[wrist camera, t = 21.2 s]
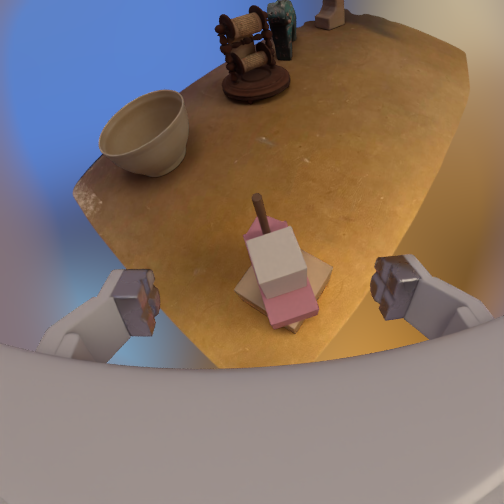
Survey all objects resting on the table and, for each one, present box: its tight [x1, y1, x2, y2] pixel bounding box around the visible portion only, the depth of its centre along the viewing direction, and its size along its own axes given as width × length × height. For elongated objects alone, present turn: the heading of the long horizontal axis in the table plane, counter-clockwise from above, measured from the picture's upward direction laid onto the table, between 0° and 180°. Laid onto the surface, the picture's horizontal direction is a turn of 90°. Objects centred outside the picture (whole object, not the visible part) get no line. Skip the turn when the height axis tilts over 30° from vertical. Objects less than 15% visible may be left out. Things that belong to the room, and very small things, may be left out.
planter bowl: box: [99, 90, 189, 177], centre depth 43 cm, size 16×16×11 cm
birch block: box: [234, 249, 333, 334], centre depth 32 cm, size 8×8×5 cm
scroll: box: [215, 5, 290, 104], centre depth 44 cm, size 15×15×20 cm
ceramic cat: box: [267, 0, 296, 60], centre depth 51 cm, size 20×6×20 cm, turn 167°
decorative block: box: [315, 0, 344, 30], centre depth 56 cm, size 11×6×20 cm, turn 136°
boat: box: [243, 193, 319, 329], centre depth 25 cm, size 12×5×11 cm, turn 16°
